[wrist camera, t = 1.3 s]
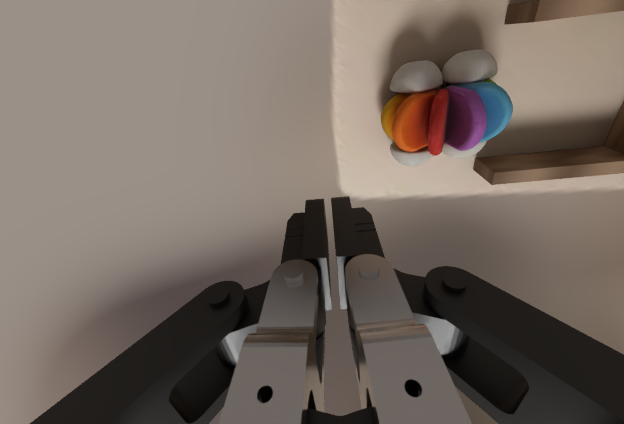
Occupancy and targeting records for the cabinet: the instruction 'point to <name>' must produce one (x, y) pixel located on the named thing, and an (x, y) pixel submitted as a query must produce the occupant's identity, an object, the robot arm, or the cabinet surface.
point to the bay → (564, 163)
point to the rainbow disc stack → (445, 108)
